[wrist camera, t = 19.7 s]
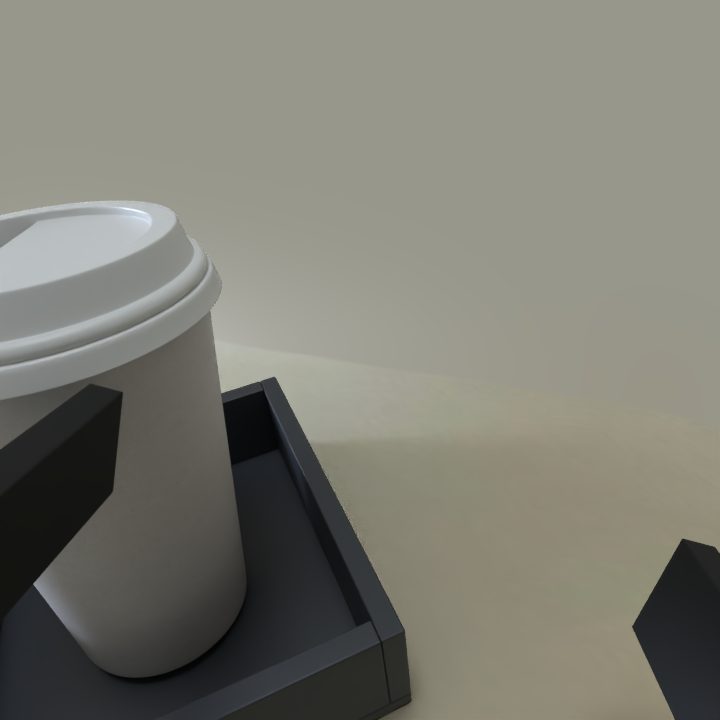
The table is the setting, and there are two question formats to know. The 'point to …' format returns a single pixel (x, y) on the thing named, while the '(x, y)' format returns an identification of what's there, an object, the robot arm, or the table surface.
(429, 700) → the table surface
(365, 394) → the table surface
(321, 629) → the basket
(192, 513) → the coffee cup
